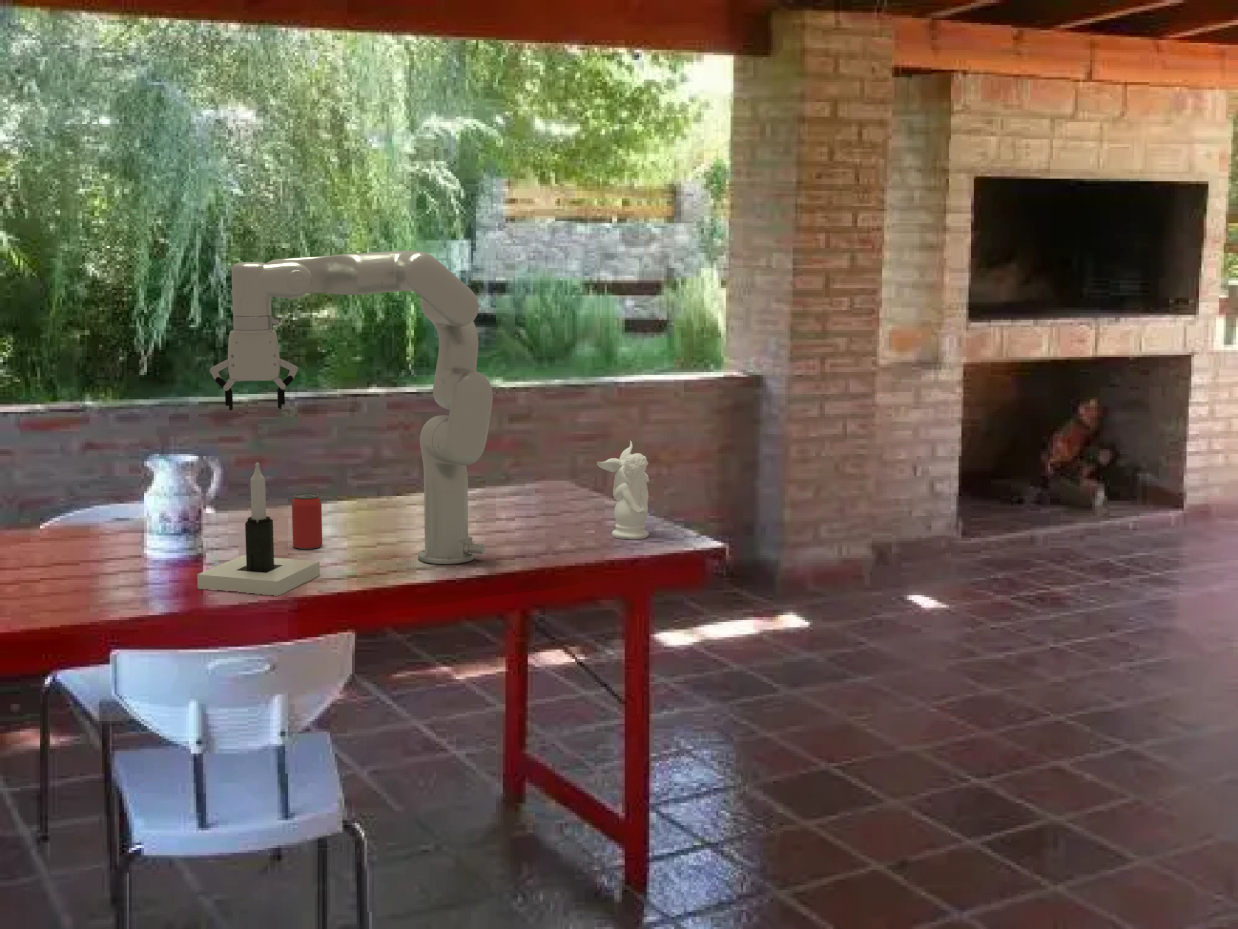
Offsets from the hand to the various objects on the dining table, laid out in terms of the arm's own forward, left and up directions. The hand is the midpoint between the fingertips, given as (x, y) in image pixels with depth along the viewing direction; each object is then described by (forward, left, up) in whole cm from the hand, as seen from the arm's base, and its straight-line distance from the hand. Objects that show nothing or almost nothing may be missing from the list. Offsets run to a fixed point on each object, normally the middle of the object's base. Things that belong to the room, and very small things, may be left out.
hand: (255, 408), depth 317 cm
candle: (0, 0, -36) cm, 36 cm away
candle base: (0, 0, -36) cm, 36 cm away
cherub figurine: (-58, -67, -36) cm, 96 cm away
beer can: (+6, -32, -36) cm, 49 cm away
